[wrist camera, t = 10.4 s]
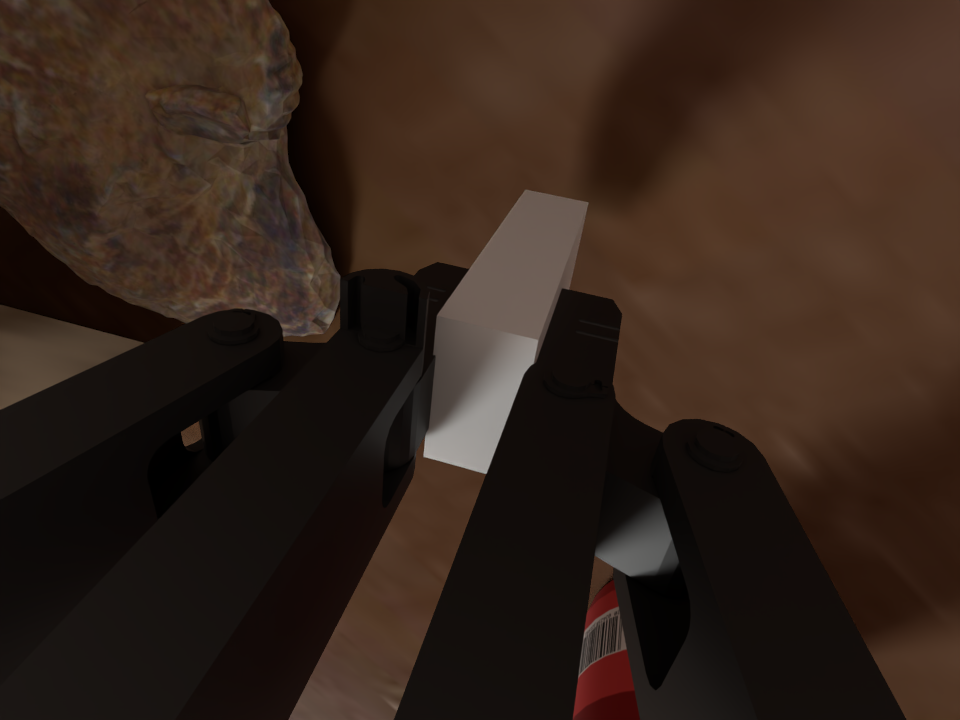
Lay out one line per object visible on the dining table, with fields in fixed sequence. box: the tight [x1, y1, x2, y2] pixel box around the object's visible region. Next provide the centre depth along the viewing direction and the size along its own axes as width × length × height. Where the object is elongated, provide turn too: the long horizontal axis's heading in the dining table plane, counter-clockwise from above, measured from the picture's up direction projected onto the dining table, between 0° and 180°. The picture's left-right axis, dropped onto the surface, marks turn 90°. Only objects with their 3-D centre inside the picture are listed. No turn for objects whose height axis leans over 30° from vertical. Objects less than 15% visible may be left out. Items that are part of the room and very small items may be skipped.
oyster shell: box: [0, 0, 340, 337], centre depth 16 cm, size 10×12×5 cm
